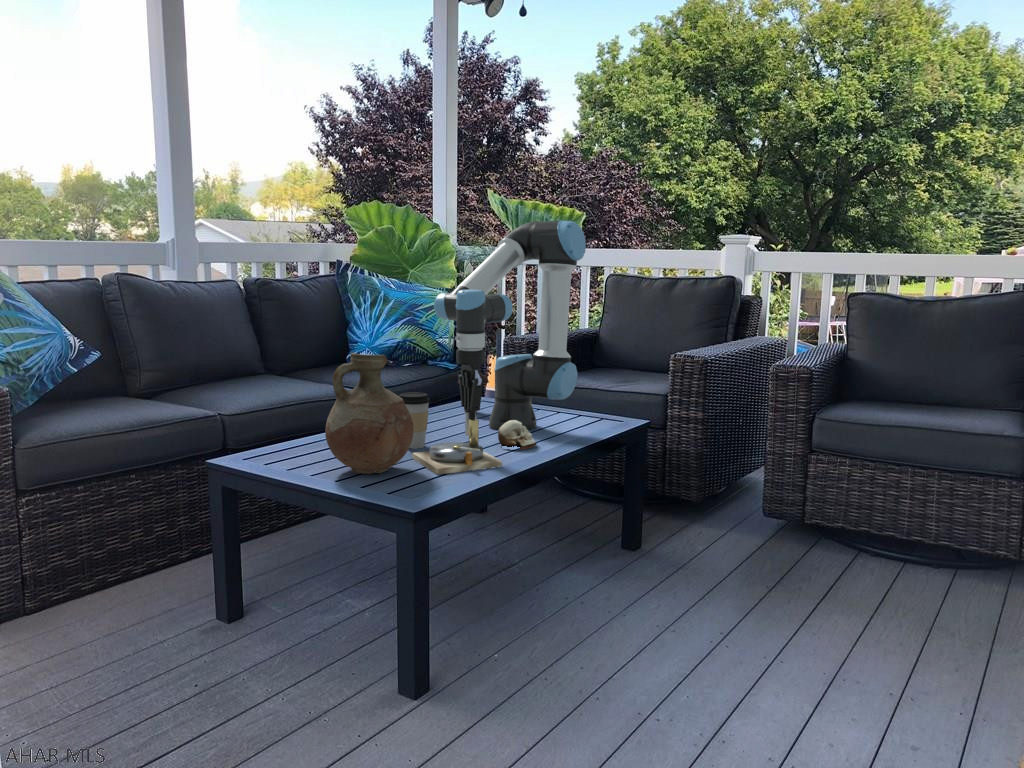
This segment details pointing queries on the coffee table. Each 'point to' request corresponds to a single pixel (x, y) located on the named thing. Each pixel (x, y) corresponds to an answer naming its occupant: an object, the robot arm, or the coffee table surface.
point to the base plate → (450, 467)
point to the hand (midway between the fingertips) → (470, 434)
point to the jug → (367, 419)
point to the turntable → (459, 447)
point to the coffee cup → (417, 416)
